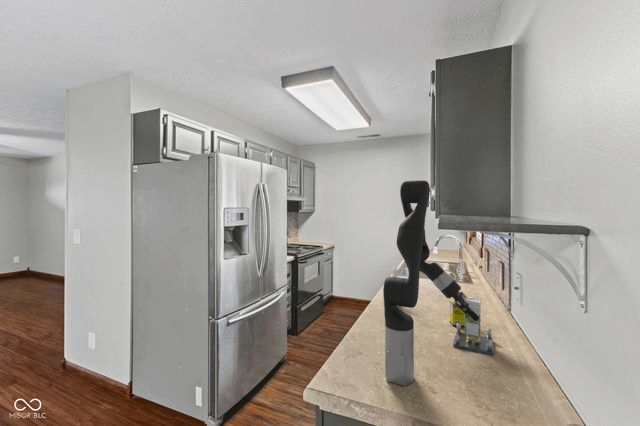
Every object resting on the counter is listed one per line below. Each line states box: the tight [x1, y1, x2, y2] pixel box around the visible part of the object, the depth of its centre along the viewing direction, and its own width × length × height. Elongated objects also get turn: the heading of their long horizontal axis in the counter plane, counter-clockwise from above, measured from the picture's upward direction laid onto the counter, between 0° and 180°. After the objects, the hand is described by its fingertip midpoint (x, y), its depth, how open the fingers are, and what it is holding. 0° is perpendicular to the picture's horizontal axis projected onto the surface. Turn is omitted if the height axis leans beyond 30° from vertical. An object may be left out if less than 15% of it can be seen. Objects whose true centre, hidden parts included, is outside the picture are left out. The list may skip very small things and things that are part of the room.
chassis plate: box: [452, 323, 495, 356], centre depth 117 cm, size 14×14×5 cm
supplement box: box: [449, 299, 465, 328], centre depth 137 cm, size 6×6×11 cm
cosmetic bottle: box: [391, 267, 400, 308], centre depth 165 cm, size 6×6×22 cm
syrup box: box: [464, 296, 482, 337], centre depth 117 cm, size 6×6×14 cm
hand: (477, 317), depth 116 cm, fingers closed on syrup box, 6 cm apart
